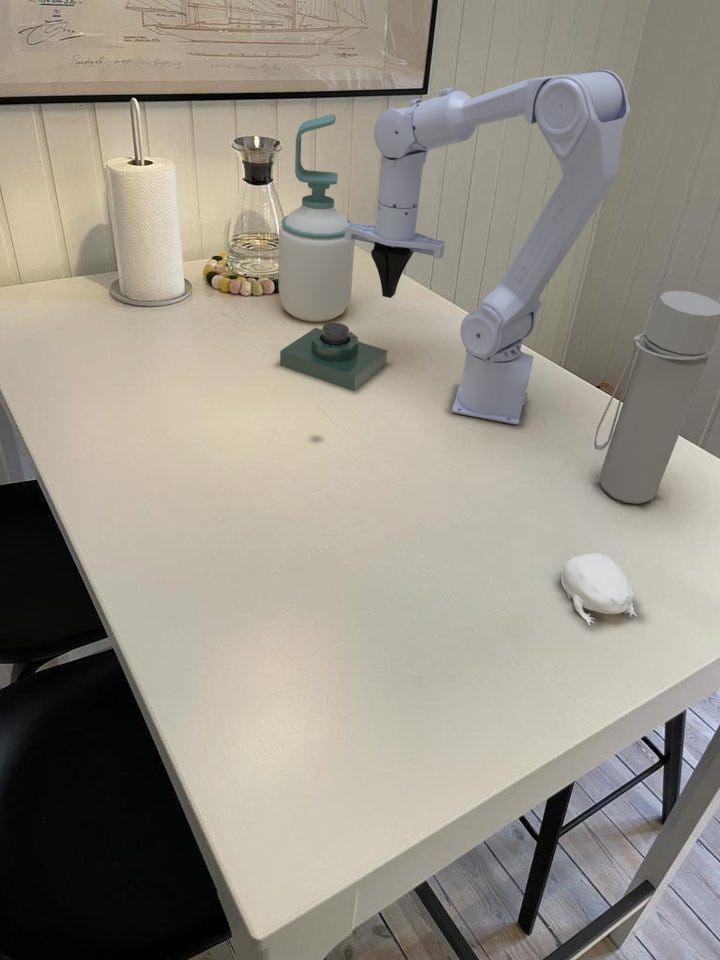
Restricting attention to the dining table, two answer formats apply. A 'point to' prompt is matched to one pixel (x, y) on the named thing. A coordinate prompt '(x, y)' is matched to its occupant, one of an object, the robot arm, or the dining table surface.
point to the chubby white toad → (597, 585)
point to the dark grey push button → (335, 334)
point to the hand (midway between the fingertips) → (388, 294)
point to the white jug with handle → (315, 246)
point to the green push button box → (334, 359)
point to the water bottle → (658, 394)
